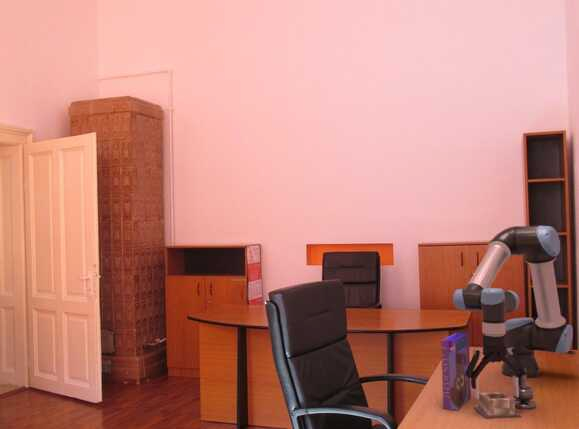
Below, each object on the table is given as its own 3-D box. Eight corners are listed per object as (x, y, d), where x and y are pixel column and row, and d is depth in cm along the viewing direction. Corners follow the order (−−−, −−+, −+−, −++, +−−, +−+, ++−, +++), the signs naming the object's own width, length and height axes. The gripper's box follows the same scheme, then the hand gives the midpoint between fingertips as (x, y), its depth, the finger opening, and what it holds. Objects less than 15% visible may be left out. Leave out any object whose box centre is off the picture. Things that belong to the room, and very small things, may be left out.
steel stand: (529, 402, 216) (528, 365, 217) (540, 408, 208) (538, 370, 209) (507, 403, 216) (506, 366, 216) (517, 409, 208) (516, 371, 208)
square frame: (504, 406, 210) (503, 391, 210) (515, 414, 201) (514, 399, 201) (478, 407, 210) (478, 392, 210) (488, 415, 201) (488, 400, 201)
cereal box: (456, 411, 209) (454, 341, 209) (443, 409, 211) (441, 340, 212) (470, 398, 223) (468, 332, 224) (458, 396, 226) (455, 331, 226)
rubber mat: (507, 407, 211) (507, 405, 211) (520, 417, 200) (520, 415, 200) (473, 408, 211) (473, 406, 211) (485, 418, 200) (485, 416, 200)
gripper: (525, 330, 210) (527, 392, 210) (454, 333, 209) (456, 395, 209) (535, 334, 203) (537, 398, 203) (461, 337, 202) (463, 401, 202)
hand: (496, 397), depth 206 cm, fingers open, 13 cm apart
